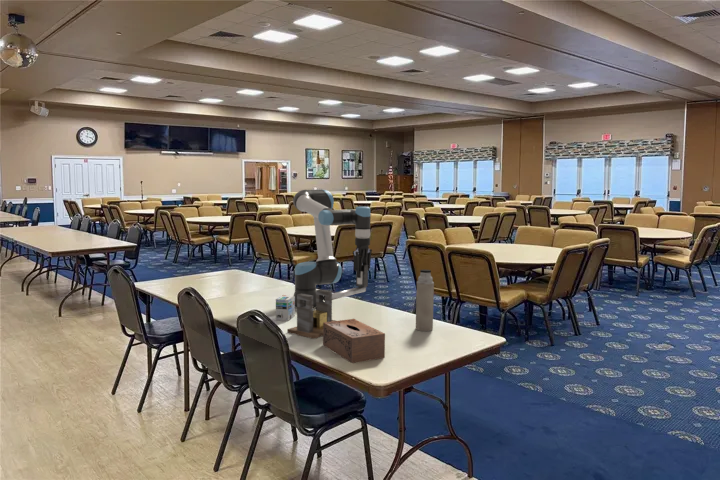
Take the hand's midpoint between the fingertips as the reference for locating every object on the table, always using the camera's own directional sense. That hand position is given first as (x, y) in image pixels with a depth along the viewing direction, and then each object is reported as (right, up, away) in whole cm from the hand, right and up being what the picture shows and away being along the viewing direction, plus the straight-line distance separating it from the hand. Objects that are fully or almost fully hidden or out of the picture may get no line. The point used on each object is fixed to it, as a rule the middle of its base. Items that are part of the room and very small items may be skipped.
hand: (362, 283), depth 281 cm
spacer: (-21, -18, -25) cm, 37 cm away
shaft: (-8, -6, -10) cm, 14 cm away
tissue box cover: (-4, -24, -56) cm, 61 cm away
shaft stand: (-20, -19, -24) cm, 37 cm away
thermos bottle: (+29, -20, -21) cm, 41 cm away
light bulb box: (-38, -17, -4) cm, 42 cm away
